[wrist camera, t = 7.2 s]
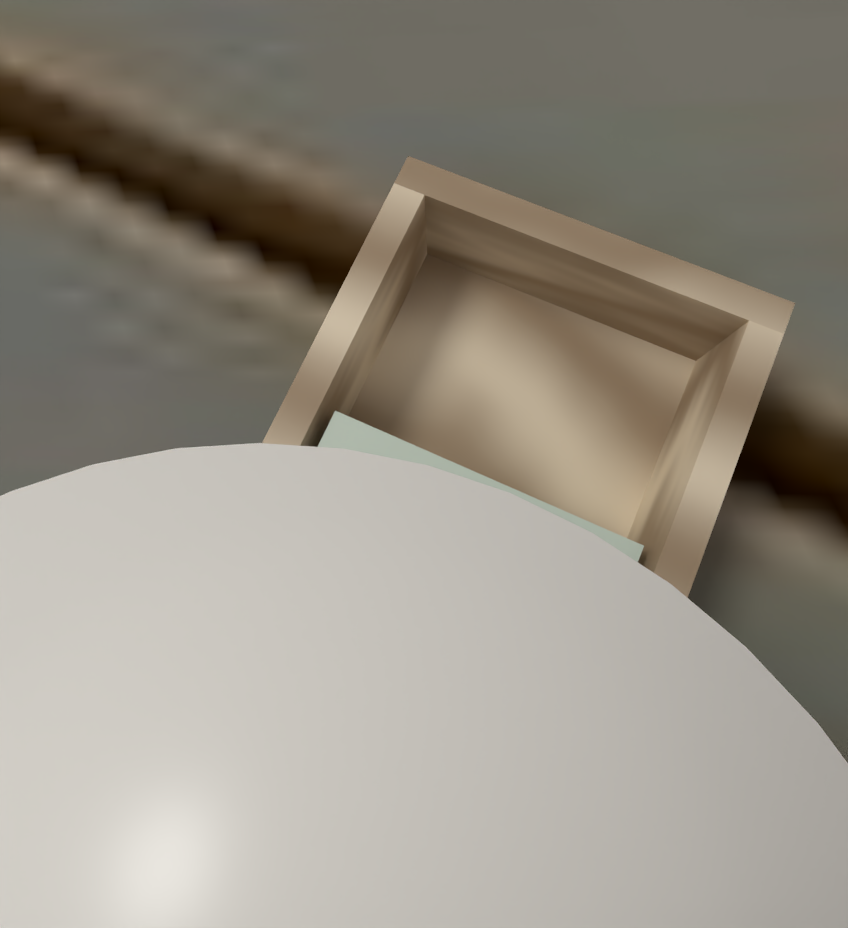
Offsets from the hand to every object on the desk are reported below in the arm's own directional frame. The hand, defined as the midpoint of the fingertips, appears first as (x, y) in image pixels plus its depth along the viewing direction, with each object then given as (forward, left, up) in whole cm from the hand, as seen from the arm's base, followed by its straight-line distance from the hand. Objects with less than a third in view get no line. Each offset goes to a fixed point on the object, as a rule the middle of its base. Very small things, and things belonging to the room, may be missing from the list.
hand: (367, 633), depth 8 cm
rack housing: (+4, -1, -13) cm, 14 cm away
